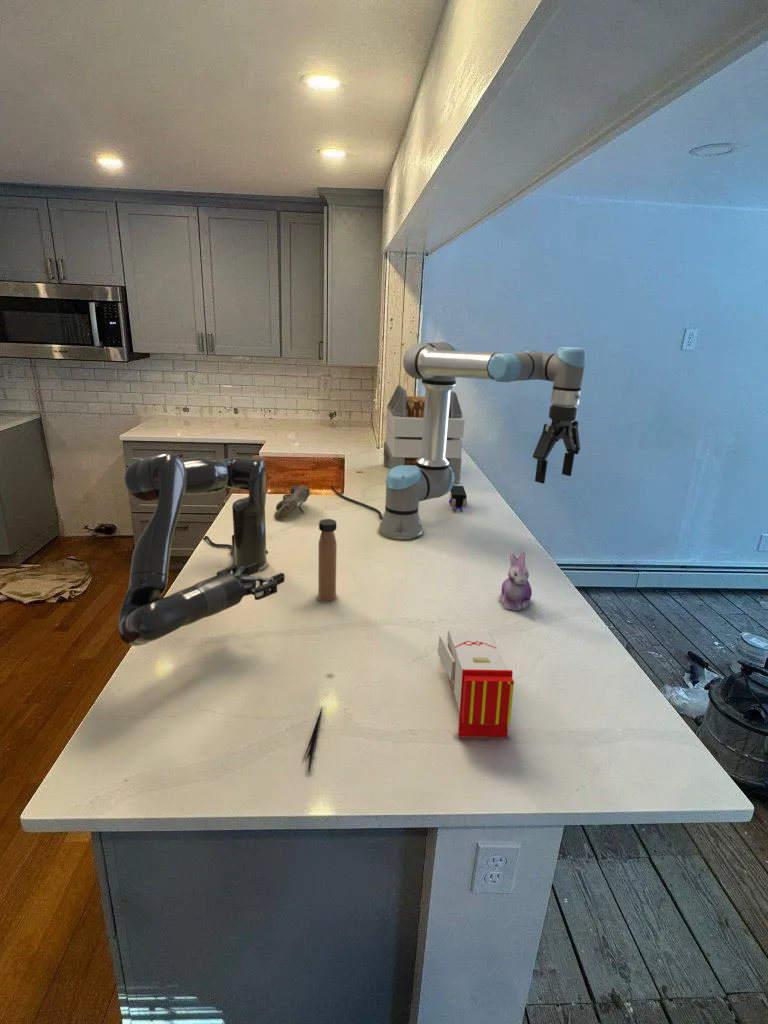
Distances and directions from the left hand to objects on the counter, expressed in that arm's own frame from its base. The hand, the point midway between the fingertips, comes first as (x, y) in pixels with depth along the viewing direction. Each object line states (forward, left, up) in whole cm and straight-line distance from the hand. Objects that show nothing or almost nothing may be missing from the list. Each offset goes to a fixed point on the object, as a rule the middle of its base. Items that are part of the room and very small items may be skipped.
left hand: (270, 571), depth 133 cm
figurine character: (-11, +111, -15) cm, 113 cm away
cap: (0, +21, +6) cm, 21 cm away
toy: (+49, +9, -15) cm, 53 cm away
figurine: (+41, +52, -15) cm, 68 cm away
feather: (+31, -17, -15) cm, 38 cm away
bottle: (0, +21, -15) cm, 26 cm away
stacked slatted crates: (-49, +143, -15) cm, 152 cm away
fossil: (-55, +63, -15) cm, 85 cm away
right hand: (+39, +75, +15) cm, 86 cm away
